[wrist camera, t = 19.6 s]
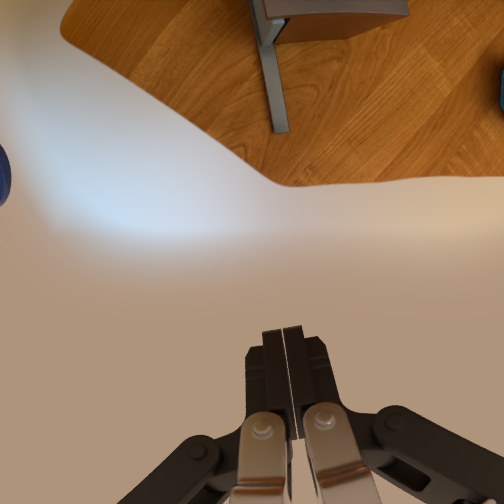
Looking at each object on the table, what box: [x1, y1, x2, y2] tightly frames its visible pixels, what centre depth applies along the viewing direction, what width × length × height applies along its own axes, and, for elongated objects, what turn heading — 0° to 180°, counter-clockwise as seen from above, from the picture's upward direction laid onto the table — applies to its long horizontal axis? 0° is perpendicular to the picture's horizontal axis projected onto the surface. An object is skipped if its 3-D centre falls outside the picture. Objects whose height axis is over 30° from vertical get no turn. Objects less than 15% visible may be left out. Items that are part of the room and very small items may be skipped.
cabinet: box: [247, 0, 410, 134], centre depth 20 cm, size 10×22×14 cm, turn 10°
